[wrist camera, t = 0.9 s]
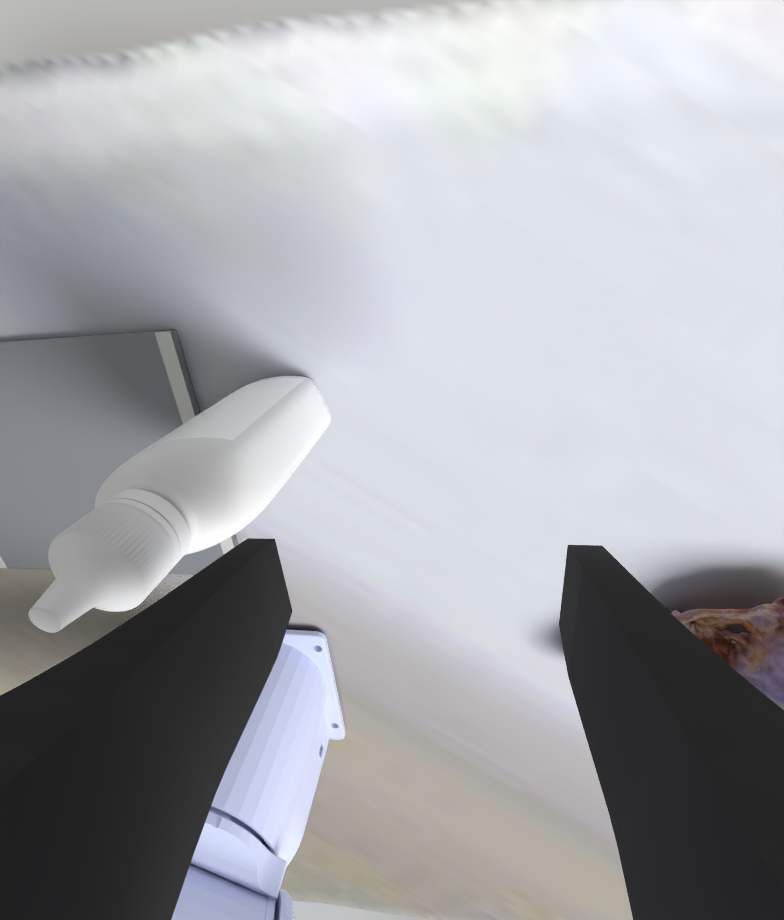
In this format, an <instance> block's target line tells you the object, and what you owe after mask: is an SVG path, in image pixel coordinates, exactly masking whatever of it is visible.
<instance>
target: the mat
mask: <svg viewBox="0 0 784 920" xmlns="http://www.w3.org/2000/svg"><path fill="white" fill-rule="evenodd" d="M198 414H200V411H199V408H198V405H197V401H196V398H195V394H194V391H193V387H192V384H191V380H190V377H189V374H188V370H187V367H186V363H185V360H184V356H183V353H182V349H181V346H180V343H179V339H178V336H177V332H176V330H162V331H147V332H133V333H118V334H103V335H89V336H74V337H60V338H45V339H31V340H16V341H1V342H0V568H24V569H51V568H50V564H49V558H48V551H49V547H50V544H51V542H52V541H53V540H54V538H55V537H56V536H57V535H58V534H60V533H61V532H63V531H64V530H65V529H67V528H68V527H70V526H71V525H72V524H74V523H75V522H77V521H78V520H79V519H81V518H82V517H84V516H85V515H86V514H88V513H89V512H91V511H92V510H93V509H95V498H96V495H97V493H98V491H99V489H100V487H101V486H102V484H103V483H104V481H105V480H106V479H107V478H108V477H109V476H110V474H111V473H113V472H114V471H115V470H116V469H117V468H118V467H119V466H120V465H122V464H123V463H124V462H126V461H127V460H129V459H130V458H131V457H133V456H135V455H136V454H138V453H139V452H141V451H142V450H144V449H145V448H147V447H148V446H150V445H151V444H153V443H155V442H156V441H158V440H159V439H161V438H162V437H164V436H165V435H167V434H169V433H170V432H172V431H173V430H175V429H176V428H178V427H180V426H181V425H183V424H184V423H186V422H187V421H189V420H190V419H192V418H194V417H195V416H197V415H198ZM237 545H238V542H237V539H236V535H235V534H234V535H233V536H231V537H229V538H228V539H226V540H224V541H222V542H220V543H218V544H216V545H214V546H212V547H209V548H207V549H204V550H201V551H198V552H195V553H191V554H187V555H184V556H183V557H182V558H181V559H180V561H179V562H178V563H177V564H176V565H175V566H174V567H173V568H172V569H171V571H170V572H169V573H168V574H190V575H196V574H197V573H198V572H200V571H201V570H203V569H204V568H205V567H207V566H208V565H210V564H211V563H212V562H214V561H215V560H217V559H218V558H220V557H221V556H222V555H224V554H225V553H227V552H228V551H230V550H231V549H233V548H234V547H236V546H237Z"/></svg>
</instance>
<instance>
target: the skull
mask: <svg viewBox="0 0 784 920" xmlns="http://www.w3.org/2000/svg"><path fill="white" fill-rule="evenodd" d="M671 614H672V615H674V616H675V617H676V618H677V619H678V620H679V621H680V622H681V623H682V624H683V625H684V626H685V627H687V628H688V629H689V630H690V631H691V632H692V633H693V634H694V635H695V636H696V637H697V638H699V639H700V640H701V641H702V642H703V643H704V644H705V645H706V646H708V647H709V648H710V649H711V650H712V651H713V652H714V653H715V654H717V655H718V656H719V657H720V658H721V659H723V660H724V661H725V662H726V663H727V664H728V665H730V666H731V667H732V668H733V669H734V670H736V671H737V672H738V673H739V674H740V675H742V676H743V677H744V678H745V679H746V680H747V681H749V682H750V683H751V684H752V685H753V686H755V687H756V688H757V689H758V690H759V691H761V692H762V693H763V694H764V695H766V696H767V697H768V698H769V699H771V700H772V701H773V702H774V703H776V704H777V705H778V706H779V707H781V708H782V709H783V710H784V597H781V598H777V599H776V600H775V601H774V602H773V603H772V604H761V605H758V606H756V607H753V608H750V609H692V610H688V611H685V612H683V613H680V612H679V611H677V610H673V611H672V612H671ZM735 624H740V625H743V626H744V627H745V628H746V629H747V630H748V631H750V632H751V633H746V632H740V633H732V632H730V631H726V629H727V628H728V627H729V626H732V625H735Z"/></svg>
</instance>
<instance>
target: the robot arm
mask: <svg viewBox="0 0 784 920" xmlns="http://www.w3.org/2000/svg"><path fill="white" fill-rule="evenodd" d="M291 613H292V608H291V604H290V600H289V596H288V591H287V587H286V583H285V579H284V575H283V571H282V567H281V563H280V559H279V555H278V550H277V546H276V542H275V539H247V540H245V541H244V542H242V543H240V544H239V545H237V546H236V547H234V548H233V549H231V550H230V551H228V552H227V553H225V554H224V555H222V556H221V557H220V558H218V559H217V560H215V561H214V562H212V563H211V564H210V565H208V566H207V567H205V568H204V569H203V570H201V571H200V572H198V573H197V574H196V575H194V576H193V577H191V578H190V579H188V580H187V581H186V582H184V583H183V584H181V585H180V586H178V587H177V588H176V589H174V590H173V591H171V592H170V593H169V594H167V595H166V596H164V597H163V598H161V599H160V600H159V601H157V602H156V603H154V604H153V605H151V606H150V607H148V608H146V609H145V610H143V611H142V612H140V613H139V614H137V615H136V616H134V617H133V618H131V619H130V620H128V621H127V622H125V623H124V624H122V625H121V626H119V627H118V628H116V629H114V630H113V631H111V632H110V633H108V634H107V635H105V636H104V637H102V638H101V639H99V640H97V641H96V642H94V643H93V644H91V645H89V646H88V647H86V648H84V649H83V650H81V651H79V652H78V653H76V654H74V655H73V656H71V657H69V658H68V659H66V660H64V661H62V662H61V663H59V664H57V665H55V666H54V667H52V668H50V669H48V670H47V671H45V672H43V673H41V674H40V675H38V676H36V677H34V678H33V679H31V680H29V681H27V682H25V683H24V684H22V685H20V686H18V687H16V688H14V689H12V690H10V691H8V692H7V693H5V694H3V695H1V696H0V920H295V917H294V914H293V905H292V900H291V896H290V894H289V893H288V892H287V891H285V890H282V889H280V887H281V884H282V880H283V877H284V873H285V870H286V867H287V866H288V864H289V863H290V862H291V860H292V858H293V857H294V855H295V853H296V852H297V850H298V848H299V845H300V843H301V840H302V837H303V834H304V830H305V827H306V823H307V819H308V816H309V812H310V808H311V805H312V801H313V797H314V794H315V790H316V786H317V783H318V779H319V775H320V771H321V768H322V764H323V760H324V757H325V753H326V749H327V746H328V742H329V739H335V740H341V739H343V738H344V736H345V726H344V721H343V716H342V711H341V706H340V702H339V697H338V692H337V687H336V682H335V677H334V673H333V668H332V663H331V658H330V653H329V648H328V643H327V639H326V636H325V635H324V634H323V633H321V632H318V631H304V630H287V627H288V623H289V620H290V617H291ZM559 626H560V632H561V638H562V644H563V650H564V655H565V660H566V666H567V671H568V676H569V680H570V683H571V687H572V690H573V694H574V697H575V700H576V704H577V707H578V711H579V714H580V717H581V721H582V724H583V728H584V731H585V734H586V738H587V741H588V744H589V748H590V751H591V754H592V758H593V761H594V764H595V768H596V771H597V774H598V778H599V781H600V784H601V788H602V791H603V794H604V798H605V801H606V804H607V808H608V811H609V815H610V819H611V823H612V826H613V830H614V834H615V838H616V842H617V846H618V850H619V855H620V859H621V864H622V869H623V873H624V878H625V883H626V888H627V892H628V897H629V902H630V906H631V911H632V916H633V920H784V710H783V709H782V708H781V707H779V706H778V705H777V704H776V703H774V702H773V701H772V700H771V699H769V698H768V697H767V696H766V695H764V694H763V693H762V692H761V691H759V690H758V689H757V688H756V687H755V686H753V685H752V684H751V683H750V682H749V681H747V680H746V679H745V678H744V677H743V676H742V675H740V674H739V673H738V672H737V671H736V670H734V669H733V668H732V667H731V666H730V665H728V664H727V663H726V662H725V661H724V660H723V659H721V658H720V657H719V656H718V655H717V654H715V653H714V652H713V651H712V650H711V649H710V648H709V647H708V646H706V645H705V644H704V643H703V642H702V641H701V640H700V639H699V638H697V637H696V636H695V635H694V634H693V633H692V632H691V631H690V630H689V629H688V628H687V627H685V626H684V625H683V624H682V623H681V622H680V621H679V620H678V619H677V618H676V617H675V616H674V615H672V614H671V613H670V612H669V611H668V610H667V609H666V608H665V607H664V606H663V605H662V604H661V603H660V602H659V601H658V600H657V599H656V598H655V597H654V596H653V595H652V594H650V593H649V592H648V591H647V590H646V589H645V588H644V587H643V586H642V585H641V584H640V583H639V582H638V581H637V580H636V579H635V578H634V577H633V576H632V575H631V574H630V573H629V572H628V571H627V570H626V569H625V568H624V567H623V566H622V565H621V564H620V563H619V562H618V561H617V560H616V559H615V558H614V557H613V556H612V555H611V554H610V553H609V552H608V551H607V550H606V549H605V548H604V547H603V546H590V545H568V549H567V558H566V567H565V576H564V585H563V594H562V603H561V612H560V621H559Z"/></svg>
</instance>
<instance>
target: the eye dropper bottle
mask: <svg viewBox="0 0 784 920" xmlns="http://www.w3.org/2000/svg"><path fill="white" fill-rule="evenodd" d="M330 421H331V416H330V412H329V410H328V407H327V405H326V403H325V401H324V399H323V397H322V394H321V392H320V390H319V388H318V387H317V385H316V384H315V382H314V381H313V380H312V379H309V378H307V377H302V376H278V377H271V378H266V379H262V380H258V381H255V382H253V383H250V384H248V385H246V386H244V387H242V388H240V389H238V390H236V391H235V392H233V393H231V394H230V395H228V396H227V397H225V398H223V399H222V400H220V401H219V402H217V403H216V404H214V405H212V406H211V407H209V408H208V409H206V410H205V411H203V412H201V413H200V414H198V415H197V416H195V417H194V418H192V419H190V420H189V421H187V422H186V423H184V424H183V425H181V426H180V427H178V428H176V429H175V430H173V431H172V432H170V433H169V434H167V435H165V436H164V437H162V438H161V439H159V440H158V441H156V442H155V443H153V444H151V445H150V446H148V447H147V448H145V449H144V450H142V451H141V452H139V453H138V454H136V455H135V456H133V457H131V458H130V459H129V460H127V461H126V462H124V463H123V464H122V465H120V466H119V467H118V468H117V469H116V470H115V471H114V472H113V473H111V474H110V476H109V477H108V478H107V479H106V480H105V481H104V483H103V484H102V486H101V487H100V489H99V491H98V493H97V495H96V498H95V509H93V510H92V511H91V512H89V513H88V514H86V515H85V516H84V517H82V518H81V519H79V520H78V521H77V522H75V523H74V524H72V525H71V526H70V527H68V528H67V529H65V530H64V531H63V532H61V533H60V534H58V535H57V536H56V537H55V538H54V540H53V541H52V542H51V544H50V547H49V551H48V558H49V564H50V568H51V570H52V572H53V574H54V576H55V578H56V579H55V580H54V581H53V583H52V584H51V585H50V586H49V587H48V589H47V590H46V591H45V592H44V593H43V595H42V596H41V597H40V598H39V599H38V601H37V602H36V603H35V604H34V605H33V607H32V608H31V609H30V610H29V612H28V616H29V619H30V620H31V622H32V623H33V624H34V625H35V626H36V627H38V628H39V629H41V630H43V631H46V632H49V633H55V632H58V631H59V630H61V629H62V628H64V627H65V626H67V625H68V624H70V623H71V622H73V621H74V620H75V619H77V618H78V617H80V616H81V615H83V614H84V613H86V612H87V611H89V610H90V609H92V608H96V609H100V610H104V611H110V612H121V611H127V610H130V609H133V608H136V607H137V606H139V605H140V604H141V603H142V602H143V601H144V599H145V598H146V597H147V596H148V595H149V594H150V593H151V592H152V591H153V589H154V588H155V587H156V586H157V585H158V584H159V583H160V582H161V581H162V579H163V578H164V577H165V576H166V575H167V574H168V573H169V572H170V571H171V569H172V568H173V567H174V566H175V565H176V564H177V563H178V562H179V561H180V559H181V558H182V557H183V556H184V555H187V554H191V553H195V552H198V551H201V550H204V549H207V548H209V547H212V546H214V545H216V544H218V543H220V542H222V541H224V540H226V539H228V538H229V537H231V536H233V535H234V534H236V533H237V532H239V531H240V530H241V529H243V528H244V527H245V526H247V525H248V524H249V523H250V522H251V521H253V520H254V519H255V518H256V517H257V516H258V515H259V514H260V513H261V512H262V511H263V510H264V509H265V507H266V506H267V505H268V504H269V503H270V501H271V500H272V499H273V498H274V497H275V495H276V494H277V493H278V492H279V490H280V489H281V488H282V487H283V485H284V484H285V483H286V481H287V480H288V479H289V478H290V476H291V475H292V474H293V472H294V471H295V470H296V468H297V467H298V466H299V464H300V463H301V462H302V460H303V459H304V458H305V456H306V455H307V454H308V452H309V451H310V450H311V448H312V447H313V446H314V444H315V443H316V442H317V440H318V439H319V438H320V436H321V435H322V434H323V432H324V431H325V430H326V428H327V427H328V426H329V423H330Z"/></svg>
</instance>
